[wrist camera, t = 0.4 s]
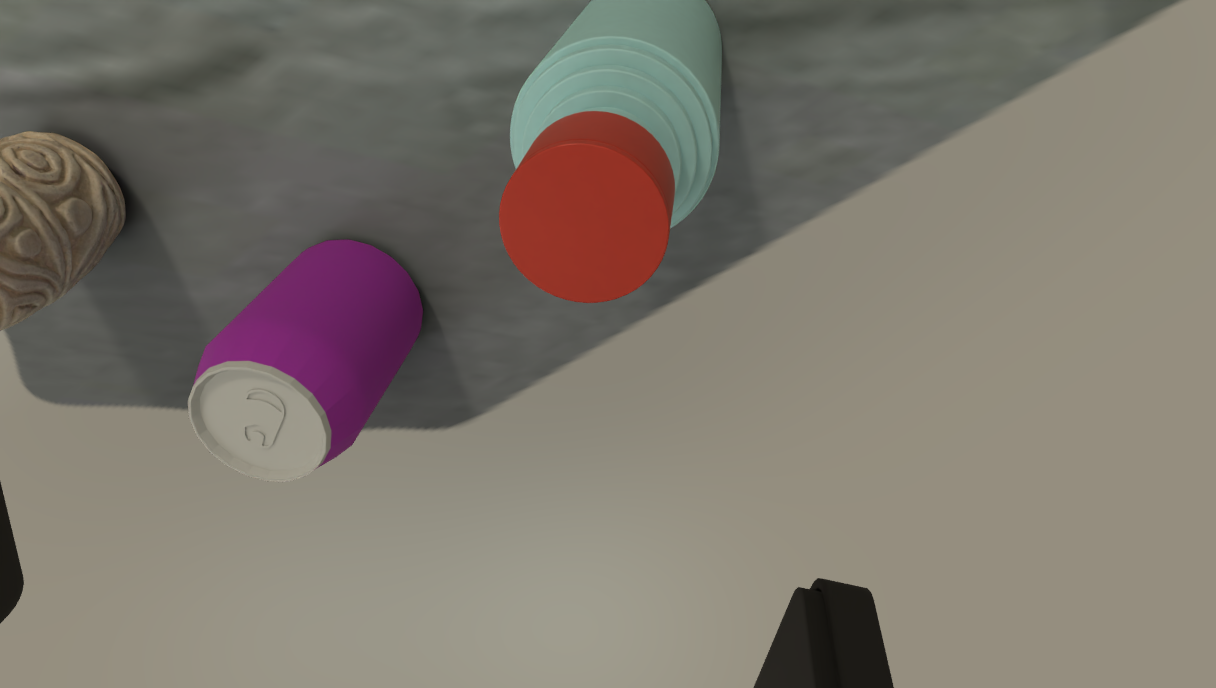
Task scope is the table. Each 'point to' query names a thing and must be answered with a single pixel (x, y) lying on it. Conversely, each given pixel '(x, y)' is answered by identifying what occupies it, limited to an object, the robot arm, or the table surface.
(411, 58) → the table surface
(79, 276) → the carving
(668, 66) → the water bottle
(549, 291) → the cap
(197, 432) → the beverage can
